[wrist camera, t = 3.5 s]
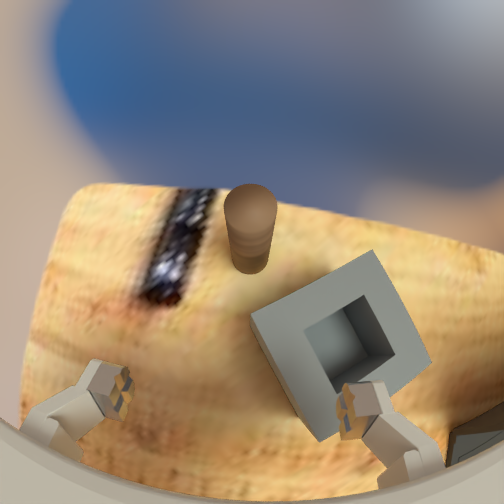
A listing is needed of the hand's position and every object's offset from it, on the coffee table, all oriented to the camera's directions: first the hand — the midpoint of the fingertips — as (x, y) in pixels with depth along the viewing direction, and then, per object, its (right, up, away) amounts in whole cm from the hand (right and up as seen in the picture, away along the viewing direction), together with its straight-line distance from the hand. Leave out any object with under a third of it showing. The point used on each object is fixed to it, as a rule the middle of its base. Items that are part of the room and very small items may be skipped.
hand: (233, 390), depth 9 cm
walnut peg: (0, +5, +18) cm, 19 cm away
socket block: (+7, -4, +15) cm, 17 cm away
